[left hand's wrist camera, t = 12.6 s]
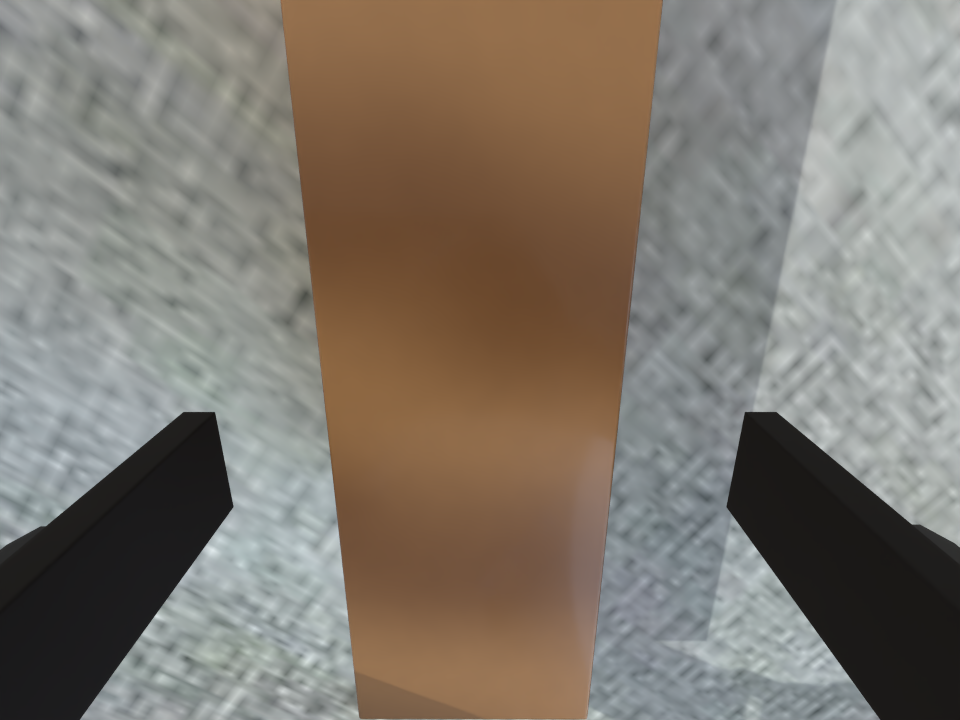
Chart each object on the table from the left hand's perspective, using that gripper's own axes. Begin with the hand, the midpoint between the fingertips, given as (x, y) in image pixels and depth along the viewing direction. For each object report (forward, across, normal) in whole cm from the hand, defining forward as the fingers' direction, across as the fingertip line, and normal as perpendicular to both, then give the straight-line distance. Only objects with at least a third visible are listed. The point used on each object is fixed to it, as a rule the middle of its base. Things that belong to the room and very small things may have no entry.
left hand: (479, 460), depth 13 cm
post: (+4, 0, -26) cm, 26 cm away
